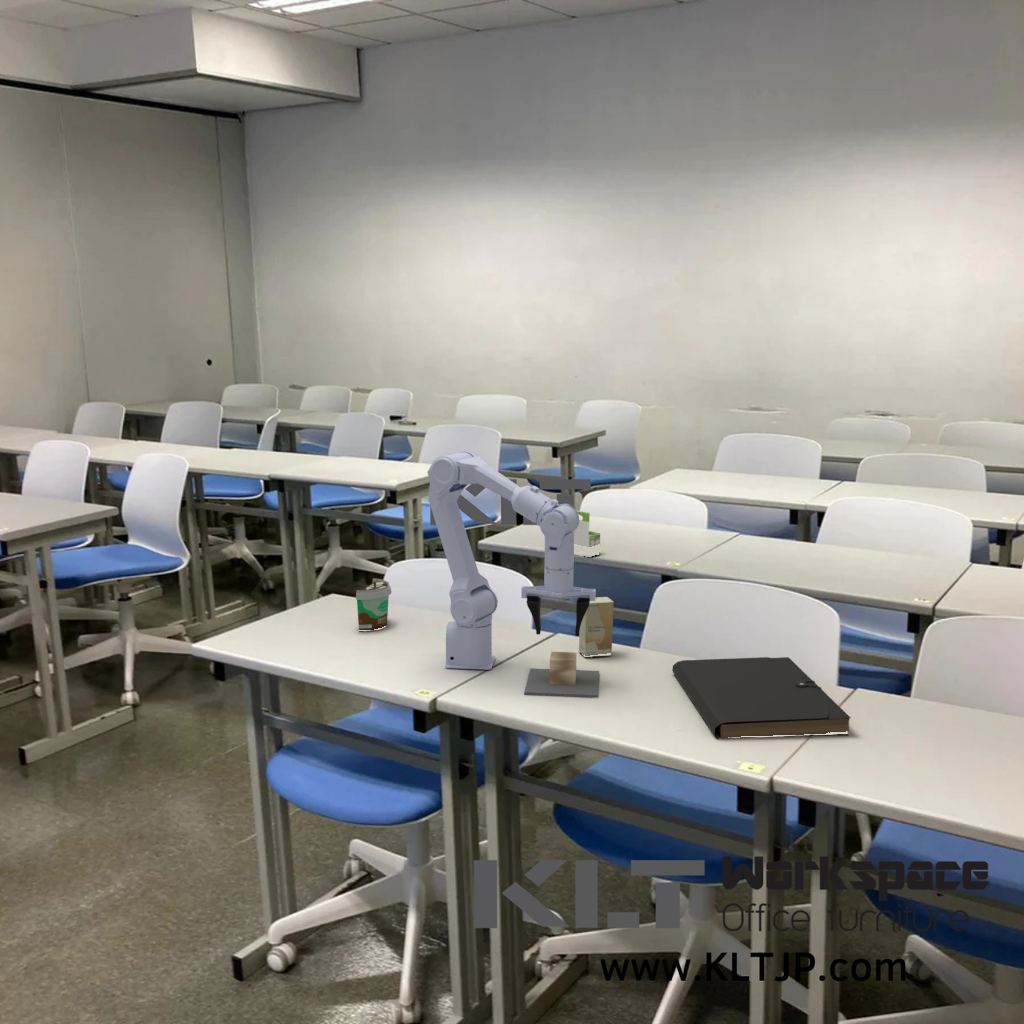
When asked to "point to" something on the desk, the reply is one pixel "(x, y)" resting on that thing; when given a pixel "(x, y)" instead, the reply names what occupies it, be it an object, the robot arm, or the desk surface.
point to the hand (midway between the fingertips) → (557, 633)
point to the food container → (373, 605)
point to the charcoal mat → (583, 685)
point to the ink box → (585, 532)
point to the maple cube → (563, 668)
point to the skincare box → (597, 628)
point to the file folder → (758, 697)
